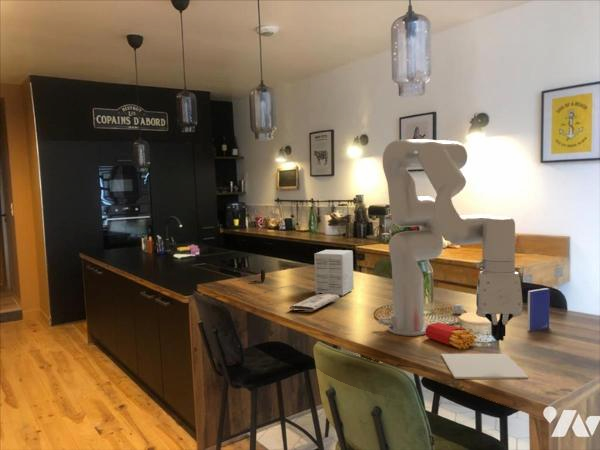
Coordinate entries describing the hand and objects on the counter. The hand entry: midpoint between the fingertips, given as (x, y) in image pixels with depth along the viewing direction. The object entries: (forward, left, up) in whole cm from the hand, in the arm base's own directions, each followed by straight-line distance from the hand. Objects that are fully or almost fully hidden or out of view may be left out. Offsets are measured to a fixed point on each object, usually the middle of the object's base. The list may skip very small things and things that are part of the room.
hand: (498, 338), depth 126 cm
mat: (-4, 0, -7) cm, 8 cm away
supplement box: (-42, +90, -7) cm, 100 cm away
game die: (+2, +52, -7) cm, 53 cm away
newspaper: (-50, +66, -8) cm, 83 cm away
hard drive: (+22, +32, -7) cm, 40 cm away
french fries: (-12, +24, -5) cm, 28 cm away
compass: (-79, +107, -7) cm, 133 cm away
